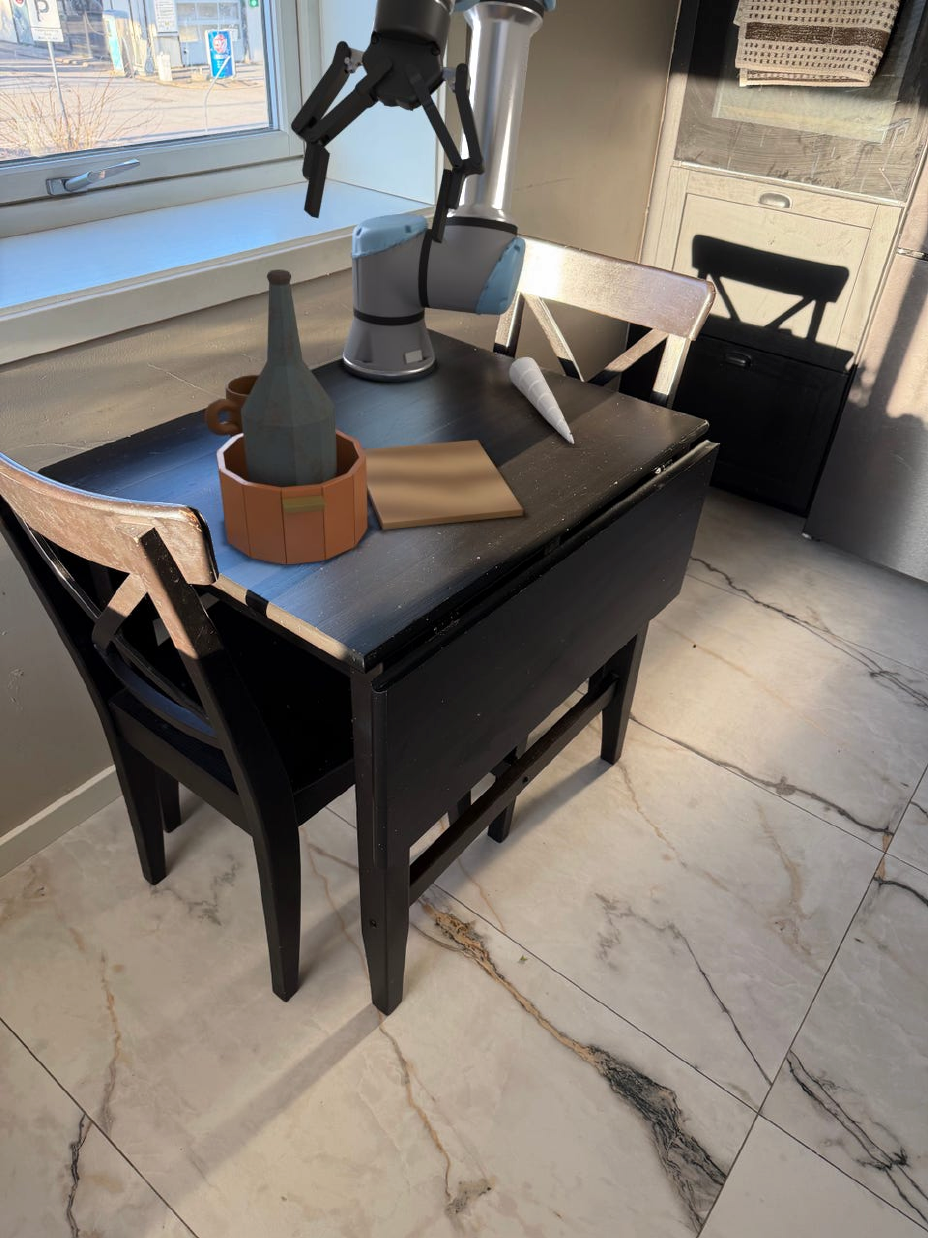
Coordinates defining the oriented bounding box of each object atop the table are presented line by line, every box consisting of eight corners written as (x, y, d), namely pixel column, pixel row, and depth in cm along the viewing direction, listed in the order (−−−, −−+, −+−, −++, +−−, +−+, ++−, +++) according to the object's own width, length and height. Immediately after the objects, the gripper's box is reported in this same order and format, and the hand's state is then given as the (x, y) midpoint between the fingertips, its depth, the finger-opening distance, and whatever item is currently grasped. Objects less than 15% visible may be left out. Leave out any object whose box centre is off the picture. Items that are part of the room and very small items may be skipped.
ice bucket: (220, 491, 116) (211, 422, 110) (349, 480, 120) (347, 412, 114) (233, 580, 100) (223, 505, 94) (381, 564, 104) (380, 491, 99)
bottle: (318, 498, 116) (305, 253, 98) (353, 534, 109) (346, 278, 91) (240, 517, 111) (212, 263, 93) (272, 556, 104) (248, 291, 87)
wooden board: (352, 456, 125) (352, 449, 125) (477, 446, 130) (477, 439, 129) (382, 530, 110) (382, 523, 110) (522, 515, 115) (523, 508, 114)
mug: (231, 478, 119) (223, 411, 113) (194, 460, 122) (184, 394, 117) (299, 449, 126) (295, 384, 121) (262, 432, 130) (256, 369, 124)
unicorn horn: (548, 448, 130) (551, 416, 128) (507, 384, 149) (509, 355, 146) (579, 446, 131) (583, 415, 129) (534, 383, 150) (537, 354, 147)
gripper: (284, -37, 88) (246, 192, 92) (534, 7, 85) (484, 241, 89) (308, 2, 95) (272, 213, 99) (539, 44, 93) (493, 258, 97)
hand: (373, 227), depth 94 cm, fingers open, 13 cm apart
